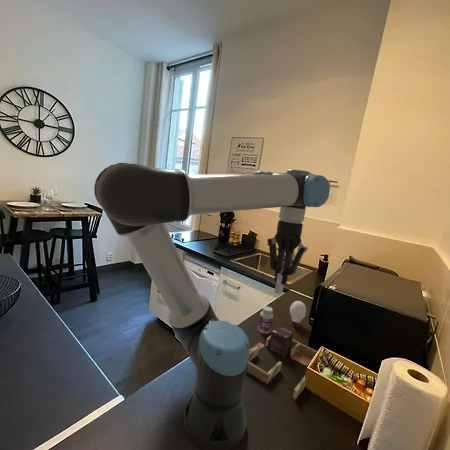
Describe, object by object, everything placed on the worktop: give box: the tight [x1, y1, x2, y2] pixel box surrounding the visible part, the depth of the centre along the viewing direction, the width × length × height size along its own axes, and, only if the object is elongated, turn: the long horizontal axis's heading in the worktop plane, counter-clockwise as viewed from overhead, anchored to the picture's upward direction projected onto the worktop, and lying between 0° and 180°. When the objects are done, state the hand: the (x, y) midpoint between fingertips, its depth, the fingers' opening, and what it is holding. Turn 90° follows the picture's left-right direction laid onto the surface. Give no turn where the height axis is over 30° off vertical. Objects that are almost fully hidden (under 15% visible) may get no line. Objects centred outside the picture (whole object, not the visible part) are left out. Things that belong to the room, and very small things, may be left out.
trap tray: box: [247, 335, 318, 401], centre depth 89 cm, size 24×22×3 cm
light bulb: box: [289, 300, 307, 328], centre depth 115 cm, size 7×7×11 cm
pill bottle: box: [257, 305, 274, 334], centre depth 107 cm, size 5×5×10 cm
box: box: [268, 325, 294, 358], centre depth 96 cm, size 6×6×7 cm
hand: (278, 292), depth 85 cm, fingers closed
